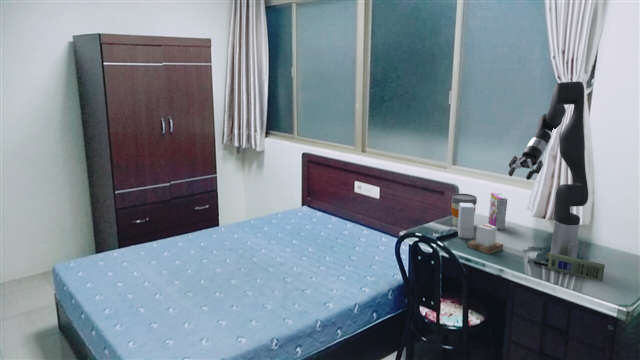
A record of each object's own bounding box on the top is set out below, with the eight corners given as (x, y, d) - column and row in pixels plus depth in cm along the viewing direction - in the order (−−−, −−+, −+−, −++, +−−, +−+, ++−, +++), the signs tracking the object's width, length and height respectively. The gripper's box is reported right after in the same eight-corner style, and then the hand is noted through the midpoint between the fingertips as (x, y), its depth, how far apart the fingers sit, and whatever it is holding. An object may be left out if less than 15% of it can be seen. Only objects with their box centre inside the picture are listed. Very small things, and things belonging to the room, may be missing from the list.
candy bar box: (487, 222, 251) (490, 192, 247) (497, 222, 251) (500, 192, 247) (494, 229, 240) (497, 198, 236) (504, 230, 240) (508, 198, 236)
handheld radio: (601, 282, 183) (532, 266, 197) (602, 280, 186) (534, 264, 200) (604, 266, 182) (534, 251, 196) (605, 263, 185) (536, 249, 199)
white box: (495, 243, 216) (497, 226, 214) (487, 246, 212) (489, 228, 210) (483, 239, 220) (485, 222, 218) (475, 242, 217) (477, 225, 215)
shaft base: (502, 248, 216) (504, 231, 214) (488, 254, 209) (490, 236, 207) (481, 241, 224) (483, 225, 222) (467, 246, 217) (468, 229, 216)
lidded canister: (458, 219, 256) (460, 192, 253) (479, 225, 247) (482, 197, 243) (444, 223, 248) (446, 195, 245) (465, 230, 239) (467, 201, 235)
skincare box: (472, 239, 227) (475, 207, 223) (458, 238, 228) (461, 206, 224) (470, 233, 235) (473, 202, 231) (456, 232, 236) (458, 201, 232)
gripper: (517, 142, 226) (501, 169, 222) (547, 147, 215) (530, 175, 211) (522, 152, 230) (506, 179, 226) (551, 157, 219) (535, 185, 215)
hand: (518, 177), depth 219 cm, fingers open, 8 cm apart
